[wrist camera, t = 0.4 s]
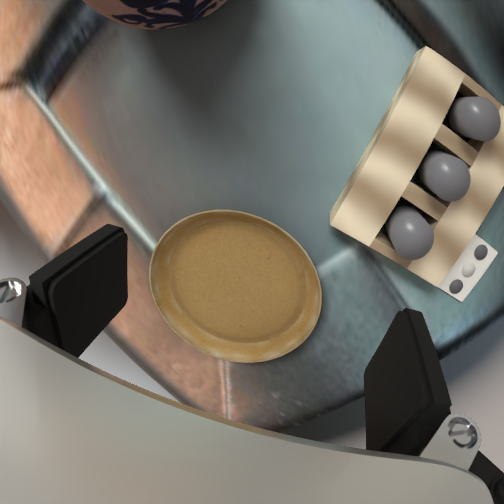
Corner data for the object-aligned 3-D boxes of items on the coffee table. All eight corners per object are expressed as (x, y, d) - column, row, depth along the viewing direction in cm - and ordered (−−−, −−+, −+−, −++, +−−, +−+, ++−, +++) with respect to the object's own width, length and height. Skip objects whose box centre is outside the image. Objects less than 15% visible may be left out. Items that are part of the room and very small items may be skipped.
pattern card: (472, 231, 34) (474, 233, 34) (496, 251, 34) (498, 253, 34) (435, 284, 38) (436, 286, 38) (460, 300, 38) (462, 303, 38)
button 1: (398, 197, 33) (408, 210, 29) (428, 217, 33) (441, 232, 29) (378, 230, 35) (385, 247, 31) (408, 249, 35) (417, 267, 31)
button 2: (457, 89, 26) (475, 87, 22) (486, 113, 26) (506, 115, 22) (441, 121, 28) (457, 123, 24) (471, 144, 28) (489, 150, 24)
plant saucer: (337, 216, 38) (338, 226, 35) (306, 360, 49) (304, 375, 46) (155, 193, 42) (143, 200, 39) (165, 331, 52) (157, 343, 50)
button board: (416, 51, 27) (426, 45, 24) (513, 129, 27) (529, 132, 24) (329, 213, 38) (329, 224, 34) (428, 272, 38) (437, 287, 34)
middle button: (430, 142, 30) (445, 147, 25) (460, 164, 30) (477, 173, 25) (411, 176, 32) (423, 186, 27) (441, 197, 32) (456, 209, 27)
